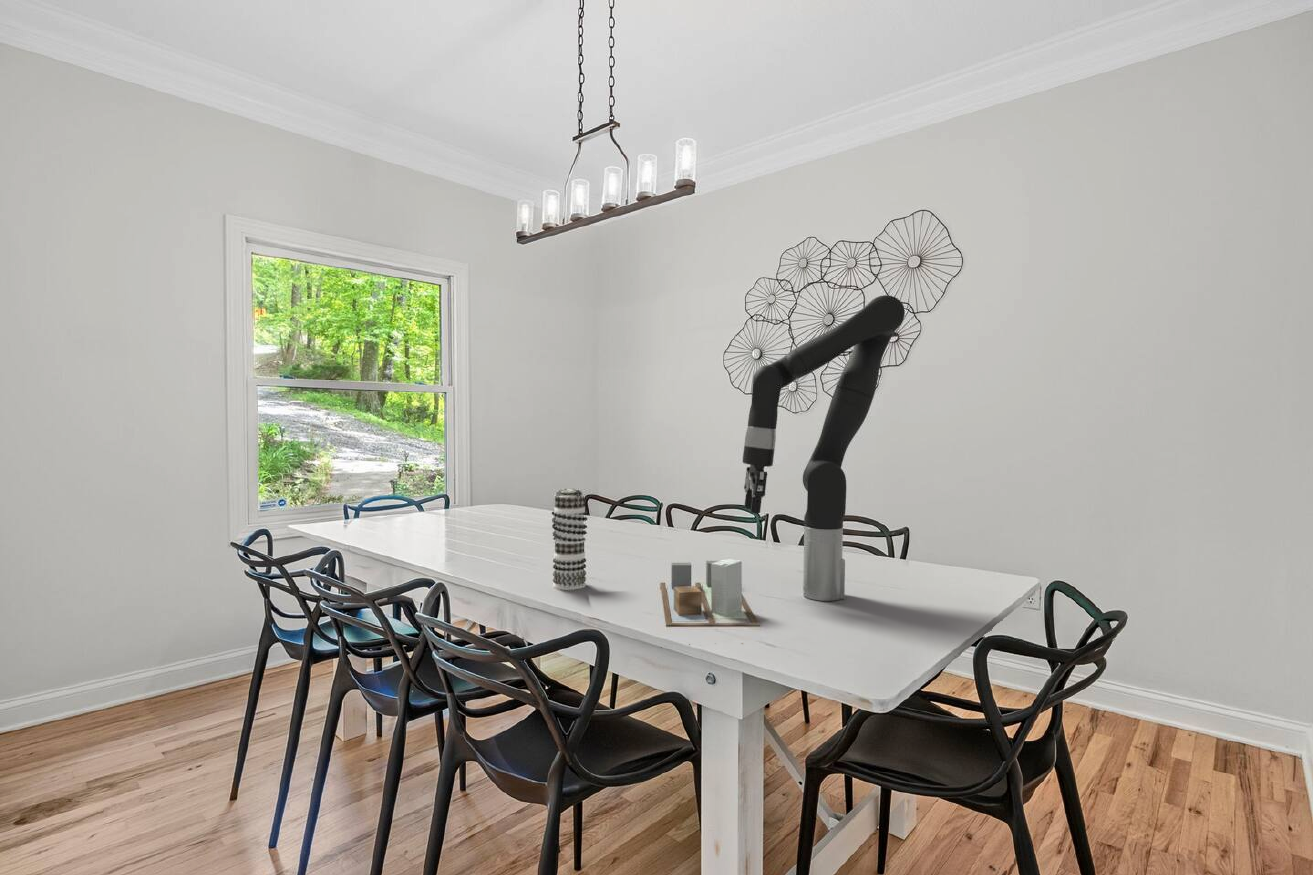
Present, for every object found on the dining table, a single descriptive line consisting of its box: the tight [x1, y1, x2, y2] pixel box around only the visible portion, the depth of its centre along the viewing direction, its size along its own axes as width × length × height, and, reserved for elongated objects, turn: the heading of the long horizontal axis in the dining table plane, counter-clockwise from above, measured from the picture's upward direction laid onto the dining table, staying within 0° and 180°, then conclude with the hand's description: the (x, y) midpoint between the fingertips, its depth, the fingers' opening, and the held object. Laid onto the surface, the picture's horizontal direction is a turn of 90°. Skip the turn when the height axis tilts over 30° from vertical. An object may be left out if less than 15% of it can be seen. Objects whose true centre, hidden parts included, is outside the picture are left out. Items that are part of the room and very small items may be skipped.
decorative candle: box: [551, 488, 589, 591], centre depth 176 cm, size 9×9×25 cm
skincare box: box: [710, 558, 743, 616], centre depth 149 cm, size 6×4×12 cm
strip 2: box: [701, 560, 748, 620], centre depth 159 cm, size 7×30×7 cm, turn 2°
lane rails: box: [659, 582, 761, 628], centre depth 156 cm, size 19×35×2 cm, turn 2°
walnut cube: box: [674, 585, 703, 616], centre depth 149 cm, size 5×5×5 cm
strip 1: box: [666, 562, 707, 623], centre depth 157 cm, size 7×30×7 cm, turn 2°
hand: (751, 510), depth 169 cm, fingers open, 8 cm apart
